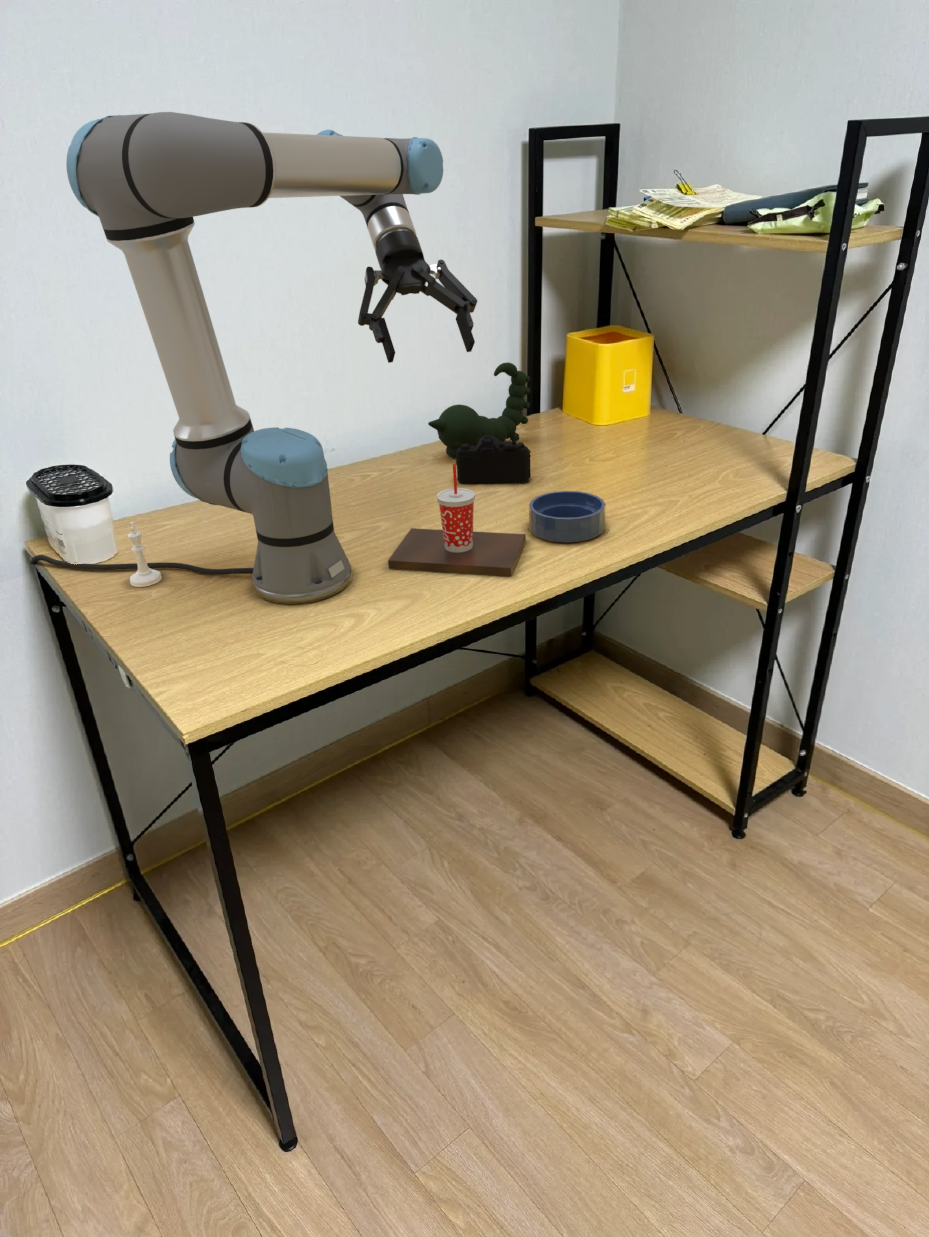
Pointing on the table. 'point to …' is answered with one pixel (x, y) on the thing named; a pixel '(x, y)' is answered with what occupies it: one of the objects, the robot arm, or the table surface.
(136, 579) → the chess piece
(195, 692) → the table surface
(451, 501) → the beverage cup
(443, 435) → the toy figurine
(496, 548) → the board
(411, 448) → the table surface
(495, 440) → the film camera
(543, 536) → the bowl
